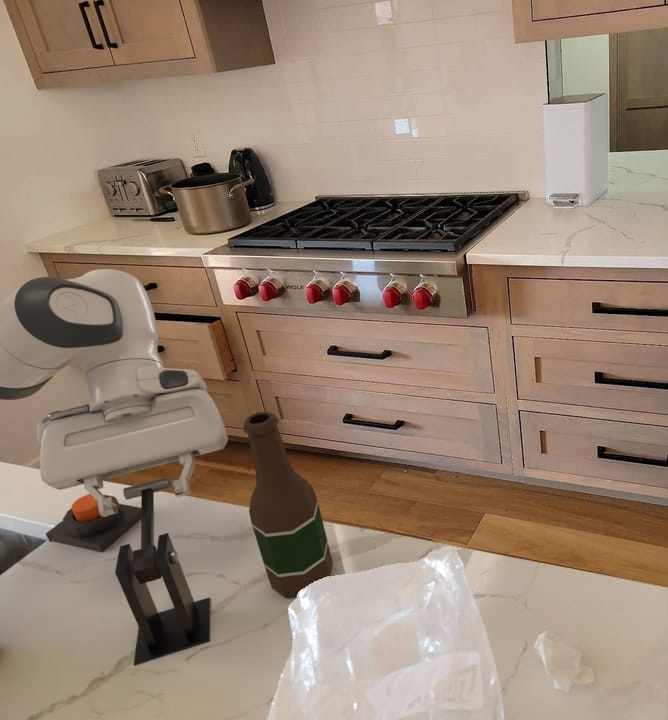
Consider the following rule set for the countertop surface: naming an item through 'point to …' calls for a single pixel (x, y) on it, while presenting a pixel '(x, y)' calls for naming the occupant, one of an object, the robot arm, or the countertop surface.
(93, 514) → the button
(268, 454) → the beer bottle
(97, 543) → the panel
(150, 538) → the power lever
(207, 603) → the power switch
